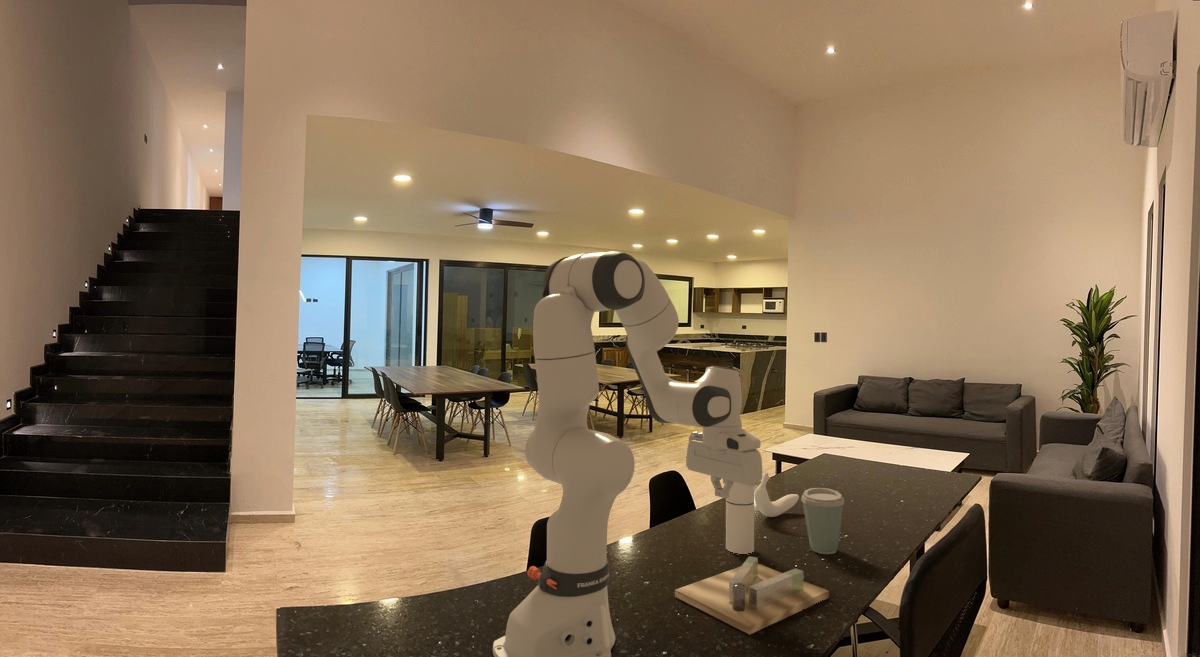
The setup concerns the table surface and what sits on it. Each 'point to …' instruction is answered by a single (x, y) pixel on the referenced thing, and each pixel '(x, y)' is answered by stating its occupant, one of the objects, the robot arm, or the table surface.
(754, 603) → the bar
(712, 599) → the cutting board
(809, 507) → the disposable coffee cup
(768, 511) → the banana
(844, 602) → the table surface
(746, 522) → the cylindrical container
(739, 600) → the bar
